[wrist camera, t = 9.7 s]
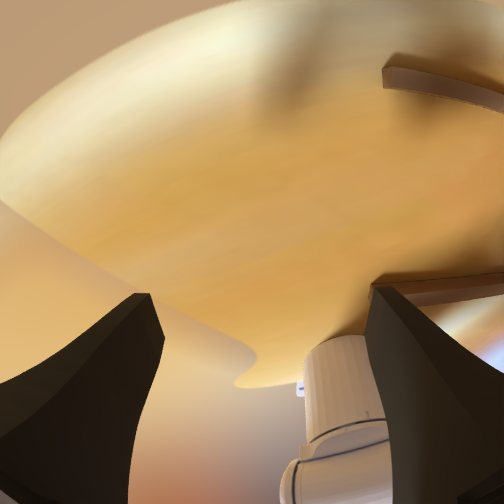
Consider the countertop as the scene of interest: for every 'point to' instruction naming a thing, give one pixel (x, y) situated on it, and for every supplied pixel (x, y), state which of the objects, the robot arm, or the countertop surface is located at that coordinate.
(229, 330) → the countertop surface
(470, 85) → the frame
